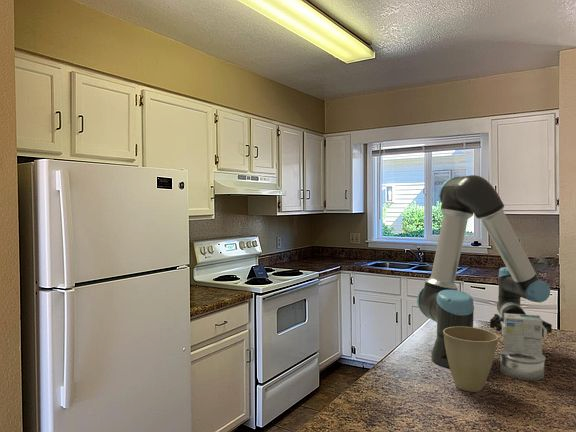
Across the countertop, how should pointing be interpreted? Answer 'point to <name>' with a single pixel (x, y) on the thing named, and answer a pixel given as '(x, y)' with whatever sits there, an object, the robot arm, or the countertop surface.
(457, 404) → the countertop surface
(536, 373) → the cookie tin
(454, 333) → the plant pot
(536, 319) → the light bulb box
